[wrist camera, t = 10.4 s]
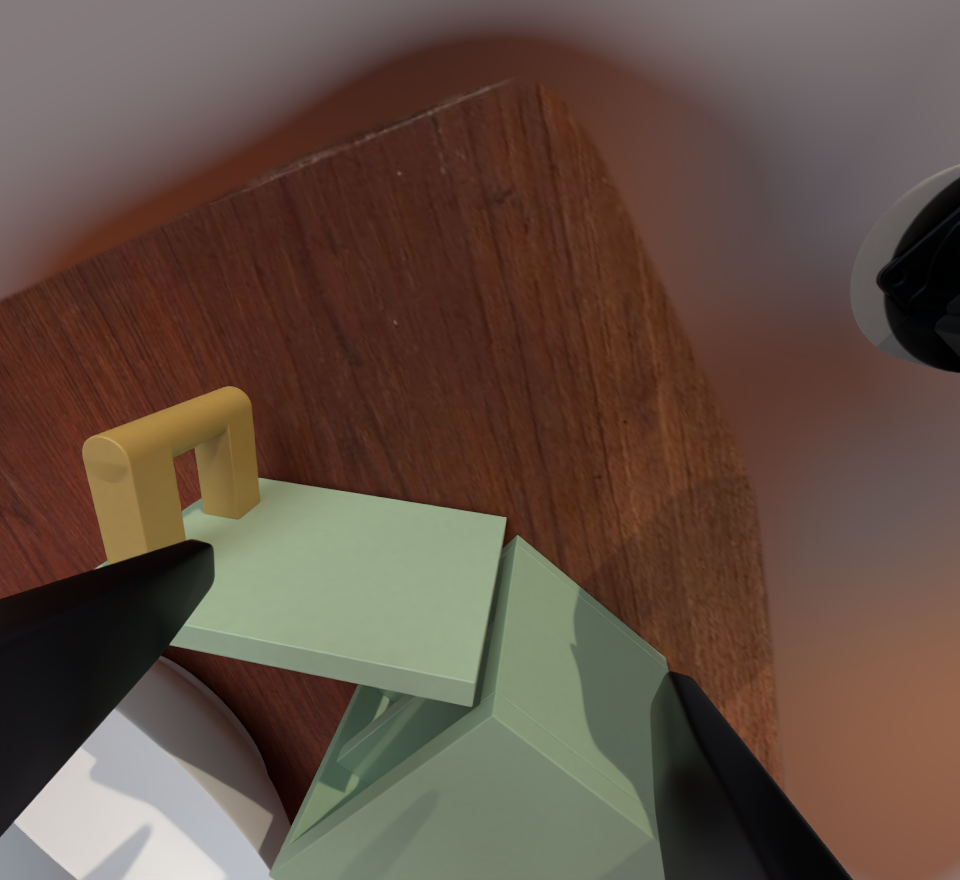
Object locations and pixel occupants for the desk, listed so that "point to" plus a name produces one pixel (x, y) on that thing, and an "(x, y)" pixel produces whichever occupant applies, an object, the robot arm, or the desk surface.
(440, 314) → the desk surface
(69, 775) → the bowl
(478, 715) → the cupboard
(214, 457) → the door
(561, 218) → the desk surface
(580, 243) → the desk surface
